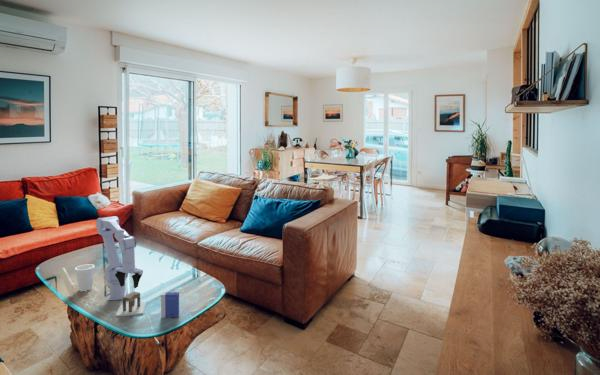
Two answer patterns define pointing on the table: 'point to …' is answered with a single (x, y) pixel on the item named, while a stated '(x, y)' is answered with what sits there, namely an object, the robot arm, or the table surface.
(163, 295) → the walkman
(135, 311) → the mat
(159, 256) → the table surface
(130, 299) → the brown forked block
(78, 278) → the foam cup
